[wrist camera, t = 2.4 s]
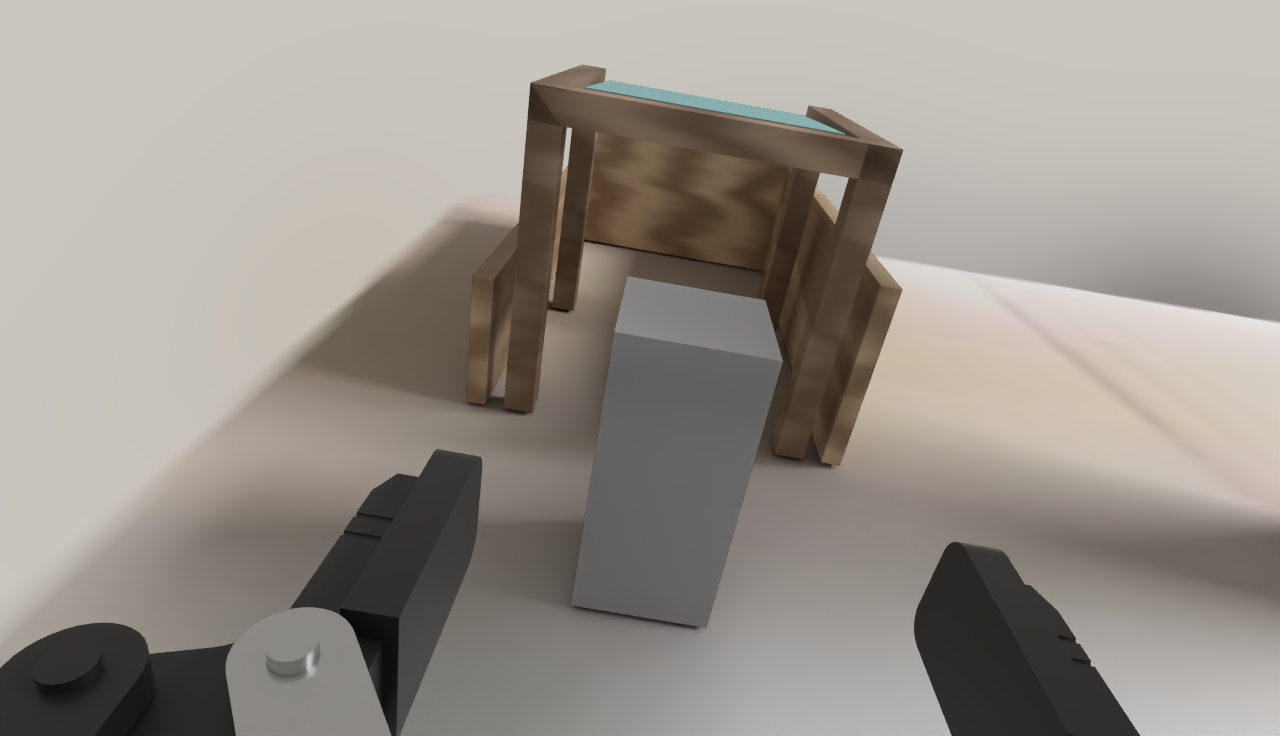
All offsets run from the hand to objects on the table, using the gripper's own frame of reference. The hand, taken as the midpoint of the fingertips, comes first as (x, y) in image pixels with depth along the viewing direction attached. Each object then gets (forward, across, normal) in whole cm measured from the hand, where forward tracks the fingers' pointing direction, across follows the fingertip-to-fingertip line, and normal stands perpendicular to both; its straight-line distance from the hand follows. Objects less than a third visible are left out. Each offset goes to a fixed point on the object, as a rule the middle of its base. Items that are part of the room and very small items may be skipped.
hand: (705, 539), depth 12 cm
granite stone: (+12, 0, +11) cm, 16 cm away
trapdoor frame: (+38, 0, +11) cm, 40 cm away
